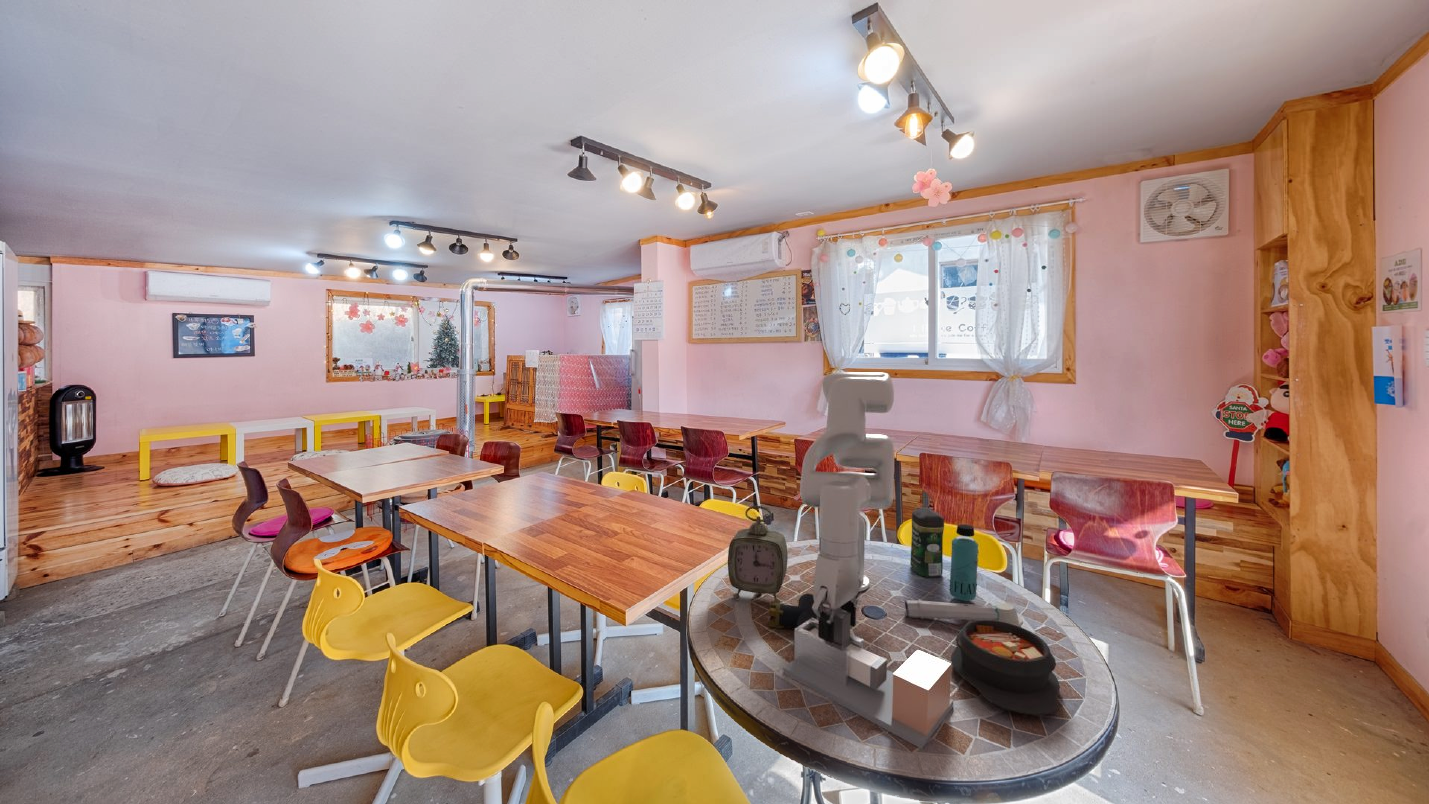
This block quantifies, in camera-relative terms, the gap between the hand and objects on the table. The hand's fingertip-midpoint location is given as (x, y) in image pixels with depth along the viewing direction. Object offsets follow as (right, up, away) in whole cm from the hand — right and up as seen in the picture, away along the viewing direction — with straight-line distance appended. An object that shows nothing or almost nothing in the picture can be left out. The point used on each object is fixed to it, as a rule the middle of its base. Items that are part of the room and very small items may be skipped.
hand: (837, 631), depth 100 cm
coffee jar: (+38, -5, +49) cm, 62 cm away
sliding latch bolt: (+1, -7, 0) cm, 7 cm away
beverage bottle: (+40, -6, +31) cm, 51 cm away
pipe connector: (-6, -8, +19) cm, 22 cm away
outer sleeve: (-1, -8, +2) cm, 8 cm away
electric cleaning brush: (+34, -8, +20) cm, 41 cm away
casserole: (+33, -10, 0) cm, 34 cm away
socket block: (+12, -9, -11) cm, 19 cm away
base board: (+4, -10, -3) cm, 11 cm away
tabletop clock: (-13, -7, +33) cm, 36 cm away
